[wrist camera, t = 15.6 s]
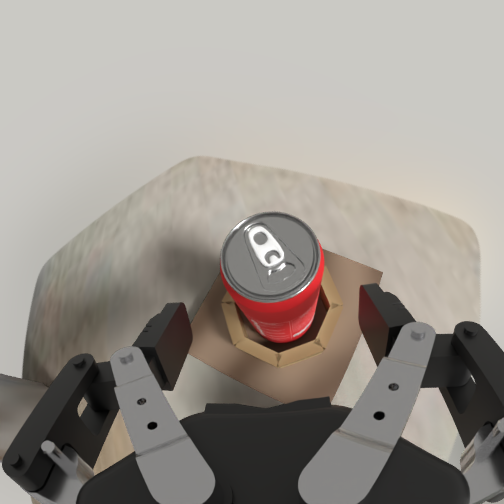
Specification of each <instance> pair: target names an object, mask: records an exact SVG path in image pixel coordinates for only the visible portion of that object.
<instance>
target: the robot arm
mask: <svg viewBox="0 0 504 504" xmlns="http://www.w3.org/2000/svg"><path fill="white" fill-rule="evenodd" d="M358 320H359V326H360V329H361V331H362V333H363V335H364V338H365V340H366V342H367V344H368V347H369V349H370V351H371V353H372V355H373V358H374V360H375V362H376V365H377V369H376V371H375V373H374V375H373V376H372V378H371V380H370V381H369V383H368V385H367V387H366V388H365V390H364V392H363V393H362V395H361V396H360V398H359V400H358V401H357V403H356V404H355V406H354V408H353V409H352V408H349V407H345V406H339V405H331V402H330V397H329V396H328V397H320V398H312V399H304V400H297V401H294V402H290V403H287V404H283V405H279V406H275V407H271V408H259V407H252V406H246V405H240V404H206V408H205V412H202V413H197V414H194V415H191V416H188V417H186V418H184V419H182V420H180V421H179V420H178V419H177V417H176V415H175V413H174V412H173V410H172V408H171V406H170V405H169V403H168V401H167V399H166V397H165V396H164V394H163V392H162V390H168V391H173V389H174V387H175V384H176V382H177V379H178V377H179V374H180V372H181V369H182V367H183V364H184V362H185V359H186V357H187V354H188V352H189V349H190V347H191V344H192V341H193V333H192V329H191V325H190V322H189V318H188V314H187V311H186V307H185V305H184V303H183V302H179V303H167V304H166V306H165V307H164V308H163V310H162V311H161V313H160V314H157V315H156V316H154V317H153V318H151V319H150V321H149V322H148V323H147V325H146V327H145V328H144V329H143V331H142V332H141V334H140V335H139V336H138V338H137V339H136V341H135V342H134V344H133V345H132V346H131V347H125V348H122V349H120V350H118V351H116V352H115V353H114V354H113V355H112V356H111V359H110V361H108V362H101V363H96V362H95V360H94V358H93V356H92V355H91V354H80V355H77V356H75V357H73V358H72V359H70V360H69V362H68V363H67V364H66V365H65V367H64V368H63V369H62V371H61V372H60V373H59V375H58V376H57V377H56V379H55V380H54V381H53V383H52V384H51V385H50V387H46V386H45V385H44V383H41V382H36V381H30V380H26V379H21V378H16V377H12V376H8V375H4V374H0V462H2V467H3V470H4V472H5V473H6V474H7V475H8V476H9V477H10V478H11V479H13V480H14V481H15V482H16V483H17V484H18V485H20V487H21V488H22V489H23V490H24V491H26V492H27V493H28V494H29V495H31V496H32V497H33V498H35V499H36V500H37V501H39V502H40V503H42V504H482V503H484V502H485V501H487V502H491V503H492V502H498V501H500V500H502V499H503V498H504V352H503V351H502V349H501V348H500V347H499V346H498V345H497V343H496V342H495V341H494V340H493V338H492V337H491V336H490V335H489V334H488V333H487V331H486V330H485V329H484V328H483V327H482V326H481V325H479V324H477V323H475V322H470V321H464V322H460V323H458V324H457V325H456V326H455V329H454V333H453V334H436V332H435V330H434V328H433V327H431V326H430V325H428V324H426V323H422V322H416V321H415V319H414V318H413V317H412V315H411V314H410V313H409V312H408V310H407V309H406V308H405V306H404V305H403V304H402V303H401V301H400V300H399V299H398V298H397V296H395V295H393V294H391V293H390V292H383V291H382V289H381V288H380V287H379V285H378V284H377V283H371V284H364V285H360V288H359V311H358ZM471 374H472V376H473V378H474V379H475V382H474V381H473V379H472V378H471ZM475 383H476V384H475ZM436 387H439V390H440V392H441V394H442V396H443V398H444V400H445V402H446V404H447V407H448V409H449V411H450V413H451V415H452V418H453V420H454V422H455V425H456V427H457V429H458V432H459V434H460V437H461V439H462V441H463V444H464V447H465V450H464V451H463V453H462V455H461V459H460V465H461V471H459V470H458V469H457V468H456V467H454V466H453V465H451V464H449V463H447V462H445V461H443V460H441V459H439V458H438V457H436V456H434V455H432V454H430V453H428V452H427V451H425V450H423V449H421V448H419V447H418V446H416V445H414V444H412V443H411V442H409V441H407V440H406V439H404V438H402V437H401V435H402V433H403V430H404V428H405V426H406V423H407V421H408V419H409V416H410V414H411V412H412V409H413V407H414V404H415V401H416V399H417V396H418V393H419V391H420V388H436ZM83 397H84V398H85V400H86V402H87V403H88V404H87V406H86V408H85V409H84V411H83V413H82V415H81V417H79V415H78V411H77V408H78V405H79V403H80V401H81V399H82V398H83ZM119 409H120V410H121V413H122V416H123V419H124V422H125V425H126V428H127V431H128V434H129V436H130V439H131V442H132V444H133V447H134V450H135V451H134V452H133V453H131V454H130V455H128V456H126V457H125V458H123V459H122V460H120V461H118V462H117V463H115V464H114V465H112V466H110V467H109V468H107V469H105V470H104V471H102V472H100V473H99V474H97V475H95V476H94V472H93V468H94V466H95V463H96V461H97V458H98V456H99V454H100V451H101V449H102V447H103V444H104V442H105V440H106V437H107V435H108V433H109V430H110V428H111V426H112V424H113V422H114V419H115V417H116V415H117V413H118V411H119Z"/></svg>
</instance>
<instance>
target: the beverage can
mask: <svg viewBox="0 0 504 504" xmlns="http://www.w3.org/2000/svg"><path fill="white" fill-rule="evenodd" d="M323 272H324V254H323V250H322V247H321V245H320V243H319V241H318V239H317V237H316V235H315V234H314V232H313V231H312V229H311V228H310V227H309V226H308V225H307V224H306V223H305V222H303V221H302V220H300V219H299V218H297V217H295V216H293V215H290V214H287V213H282V212H263V213H259V214H255V215H253V216H250V217H248V218H246V219H244V220H243V221H241V222H240V223H239V224H237V225H236V226H235V227H234V228H233V229H232V230H231V232H230V233H229V234H228V236H227V238H226V239H225V241H224V244H223V246H222V249H221V257H220V273H221V278H222V281H223V284H224V286H225V288H226V290H227V291H228V293H229V294H230V295H231V297H232V298H233V300H234V301H235V302H236V304H237V305H238V306H239V308H240V309H241V310H242V312H243V313H244V314H245V316H246V317H247V318H248V320H249V321H250V322H251V324H252V325H253V326H254V328H255V329H256V330H257V332H258V333H259V334H260V335H261V336H262V337H264V338H265V339H267V340H269V341H272V342H276V343H288V342H292V341H295V340H297V339H299V338H300V337H302V336H303V335H304V334H305V333H306V332H307V331H308V329H309V328H310V326H311V324H312V322H313V318H314V314H315V310H316V305H317V301H318V296H319V291H320V287H321V282H322V277H323Z"/></svg>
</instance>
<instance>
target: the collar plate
mask: <svg viewBox="0 0 504 504" xmlns="http://www.w3.org/2000/svg"><path fill="white" fill-rule="evenodd" d="M322 250H323V254H324V272H323V277H322V282H321V287H320V291H319V296H318V301H317V305H316V310H315V314H314V318H313V322H312V324H311V326H310V328H309V329H308V331H307V332H306V333H305V334H304V335H303V336H302V337H300V338H299V339H297V340H295V341H292V342H288V343H276V342H272V341H269V340H267V339H265V338H264V337H262V336H261V335H260V334H259V333H258V332H257V330H256V329H255V328H254V326H253V325H252V324H251V322H250V321H249V320H248V318H247V317H246V316H245V314H244V313H243V312H242V310H241V309H240V308H239V306H238V305H237V304H236V302H235V301H234V300H233V298H232V297H231V295H230V294H229V293H228V291H227V290H226V288H225V286H224V284H223V281H222V278H221V273H219V275H218V277H217V278H216V280H215V282H214V284H213V285H212V287H211V289H210V291H209V292H208V294H207V296H206V298H205V299H204V301H203V303H202V305H201V307H200V308H199V310H198V312H197V314H196V315H195V317H194V319H193V321H192V323H191V324H190V325H191V329H192V333H193V341H192V344H191V347H190V349H189V352H188V353H189V354H190V355H192V356H194V357H195V358H197V359H199V360H200V361H202V362H204V363H206V364H207V365H209V366H211V367H213V368H215V369H216V370H218V371H220V372H222V373H224V374H225V375H227V376H229V377H231V378H233V379H235V380H237V381H239V382H241V383H243V384H245V385H247V386H249V387H251V388H253V389H255V390H257V391H259V392H261V393H263V394H265V395H267V396H269V397H271V398H273V399H276V400H278V401H280V402H282V403H284V404H287V403H290V402H294V401H297V400H304V399H312V398H320V397H328V396H329V397H330V402H331V401H332V399H333V397H334V395H335V393H336V391H337V389H338V387H339V385H340V383H341V381H342V379H343V376H344V374H345V372H346V370H347V368H348V365H349V363H350V361H351V358H352V356H353V354H354V351H355V349H356V347H357V344H358V342H359V339H360V337H361V334H362V331H361V329H360V326H359V320H358V311H359V288H360V285H364V284H371V283H377V284H378V285H379V284H380V280H381V277H382V274H383V272H381V271H378V270H376V269H373V268H371V267H368V266H365V265H363V264H360V263H358V262H355V261H353V260H350V259H348V258H345V257H342V256H340V255H337V254H335V253H332V252H329V251H327V250H324V249H322Z"/></svg>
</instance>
